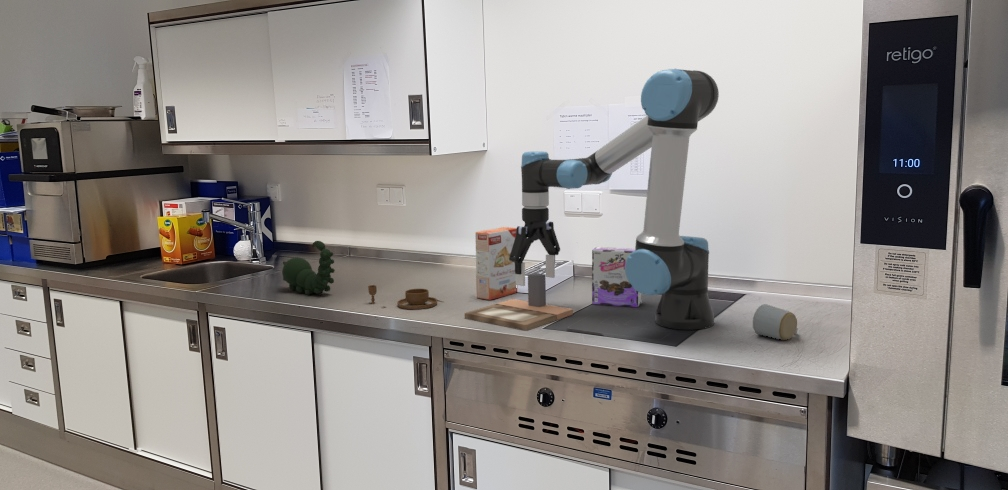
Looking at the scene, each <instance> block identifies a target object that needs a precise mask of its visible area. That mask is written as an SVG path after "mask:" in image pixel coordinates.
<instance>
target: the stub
mask: <svg viewBox="0 0 1008 490" xmlns="http://www.w3.org/2000/svg"><path fill="white" fill-rule="evenodd" d="M546 285H547V284H546V273H538V272H537V273H536V272H532V273H528V274H527V291H528V292H527V298H528V299H527V300H528V301H526V300H523V299H522V300H521V299H515V298H511V299H508V300H504V301H501V302H497V303H496V304H499V305H505V306H511V307H516V308H521V309H527V310H533V311H539V312H543V313H549V314H555V315H556V321H558V320H561V319H564V318H568V317H570V316H572V315H574V309H573V308H568V307H564V306H556V305H550V304H547V295H546V294H547V291H546V289H547V288H546Z"/></svg>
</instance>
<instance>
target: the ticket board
mask: <svg viewBox="0 0 1008 490" xmlns="http://www.w3.org/2000/svg"><path fill="white" fill-rule="evenodd" d="M464 319H467V320H472V321H477V322H482V323H487V324H491V325H496V326H502V327H507V328H512V329H517V330H520V329H521V331H526V330H527V331H529V329H530V330H533V329H535V328H537V327H540V326H543V325H546V324H549V323H552V322H555V321H557V320H556V315H555V314H549V313H543V312H539V311H533V310H527V309H521V308H516V307H511V306H505V305H499V304H497V303H494V304H491V305H487V306H483V307H480V308H477V309H474V310H471V311H467V312H464Z"/></svg>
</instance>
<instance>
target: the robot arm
mask: <svg viewBox="0 0 1008 490" xmlns="http://www.w3.org/2000/svg"><path fill="white" fill-rule="evenodd" d="M719 97H720V95H719V87H718V84H717V83H716V81H715V79H714V78H713V76H711V75H709V74H708V73H707V72H704V71H702V70H690V69H688V70H687V69H678V68H667V69H661V70H660V71H657V72H655V73H653V74H652V75H650V77H649V78H648V79H647V80H646V82H645V83H644V85H643V88H642V89H641V94H640V104H641V108H642V110H644V114H645V115H646V116H644V117H643V118H641V119H640V120H639V121H637V122H635V124H632V126H630V127H628V128H627V129H626V130H625V131H623V132H621V133H620V134H619V135H617V136H616V137H615V138H613V139H612V140H610V141H609V142H608V143H606V144H604V145H603V146H601V147H600V148H599V149H598V150H596V151H595V152H593V153H592V154H591V155H589V156H586V157H581V158H579V157H578V158H572V159H571V158H569V159H552V158H551V159H550V157H549V153H548V152H547V151H538V150H537V151H524V153H522V156H521V164H520V171H521V206H523V207H522V208H521V221H522V222H524V226H518V225H517V227H516V228H517V231H516V237H515V240H514V244H513V247H512V251H511V254H510V257H509V260H510V261H512V262H515V274H516V285H517V286H520V287H526V263H525V262H524V259H525V258H526V256H527V253H528V252H529V250H530V247H531V245H532V244H533V243H534V242H536V241H538V240H539V241H540V243H541V244H542V247H543V248H544V250H545V252H546V253H547V254H545V278H553V279H554V278H555V276H556V274H555V273H556V268H555V267H556V256H559V252H561V247H560V243H559V240H558V239H557V238H558V237H557V235H556V232H555V229H554V228H555V227H554V226H555V225H554V221H549V219H550V218H549V217H550V216H549V215H550V214H549V213H550V212H549V209H550V208H549V207H548V206H549V205H550V192H549V189H550V188H559V189H560V188H561V189H566V190H570V189H580V188H582V187H583V186H588V185H591V186H592V185H600V184H602V183H606V182H607V181H609V180H610V179H611V177H612V174H613V173H614V172H616V171H617V170H619V169H621V168H622V167H624V166H625V165H627V164H628V163H629V162H631V161H632V160H634V159H636V158H638V157H639V156H640V155H642V154H643V153H645V152H647V151H648V150H649V149H651V151H650V158H649V159H650V160H649V168H648V169H649V171H648V180H647V182H648V183H647V191H646V200H645V201H646V202H645V211H644V218H643V219H644V221H643V230H642V232H641V233H639V234H638V235H636V237H635V239H636V240H635V251H633V252H632V253H631V254H630V255H629V256H628V258H627V260H626V263H625V274H626V277H627V279H628V281H629V283H631V285H632V287H633V288H634V289H635V290H636V291H638V292H639V293H641V295H645V296H657V295H661V297H660V299H659V303H658V304H657V308H656V311H655V319H654V321H655V323H656V324H657V325H659V326H660V327H663V328H667V329H675V330H686V331H687V330H693V331H694V330H701V329H707V328H711V327H713V326H714V325H715V314H714V310H713V307H712V303H711V300H710V298H709V291H708V290H709V258H710V256H709V255H710V249H709V241H708V240H707V239H706V238H703V237H699V236H688V235H685V236H684V235H680V227H681V226H680V225H681V219H682V218H681V216H682V208H683V197H684V190H685V189H684V188H685V180H686V173H687V163H688V162H687V161H688V153H689V146H690V137H691V136H692V134H694V133H695V132H696V131H698V123H699V122H700V121H701V120H704V119H705V118H706V117H708V116H709V115H710V114H711V113H712V112H713V111H714V109H715V108H716V107H717V103H719ZM514 256H515V257H514Z"/></svg>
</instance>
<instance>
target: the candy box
mask: <svg viewBox="0 0 1008 490" xmlns="http://www.w3.org/2000/svg"><path fill="white" fill-rule="evenodd" d="M633 251H635V248H629V247H628V248H627V247H609V246H608V247H603V246H596V247H594V248H592V251H591V256H592V257H591V261H592V262H591V266H592V268H591V270H592V271H591V281H592V282H591V299H592V300H591V301H592V303H591V304H592V305H603V306H604V305H605V306H614V307H615V306H616V307H617V306H618V307H633V308H638V307H639V306H641V304H642V303H643V301H642V294H641V293H639V292H638V291H636V290H635V289H634V288H633V287H632V285H631V283H629V281H628V279H627V277H626V274H625V263H626V260H627V258H628V256H629V255H630V254H631V253H632V252H633Z"/></svg>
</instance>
